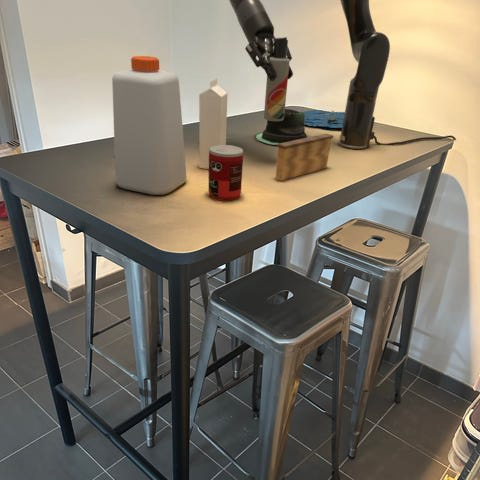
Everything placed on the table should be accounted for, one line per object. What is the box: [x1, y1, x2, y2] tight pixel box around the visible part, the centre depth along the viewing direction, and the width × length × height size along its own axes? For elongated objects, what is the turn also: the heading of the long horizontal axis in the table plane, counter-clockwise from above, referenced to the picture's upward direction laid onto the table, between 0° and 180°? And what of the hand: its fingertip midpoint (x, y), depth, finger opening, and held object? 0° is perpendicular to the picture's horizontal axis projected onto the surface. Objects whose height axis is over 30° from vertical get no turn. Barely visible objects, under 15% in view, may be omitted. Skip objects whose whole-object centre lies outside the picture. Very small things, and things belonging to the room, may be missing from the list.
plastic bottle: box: [111, 55, 188, 196], centre depth 108 cm, size 15×15×28 cm
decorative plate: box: [300, 109, 345, 129], centre depth 183 cm, size 30×30×5 cm
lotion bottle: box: [263, 36, 291, 121], centre depth 124 cm, size 6×6×20 cm
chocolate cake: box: [255, 108, 309, 146], centre depth 157 cm, size 15×19×20 cm
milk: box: [198, 78, 228, 170], centre depth 124 cm, size 6×6×22 cm
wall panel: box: [275, 133, 334, 182], centre depth 127 cm, size 21×3×9 cm, turn 133°
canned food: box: [208, 144, 244, 202], centre depth 109 cm, size 8×8×11 cm
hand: (282, 77), depth 123 cm, fingers closed on lotion bottle, 5 cm apart
